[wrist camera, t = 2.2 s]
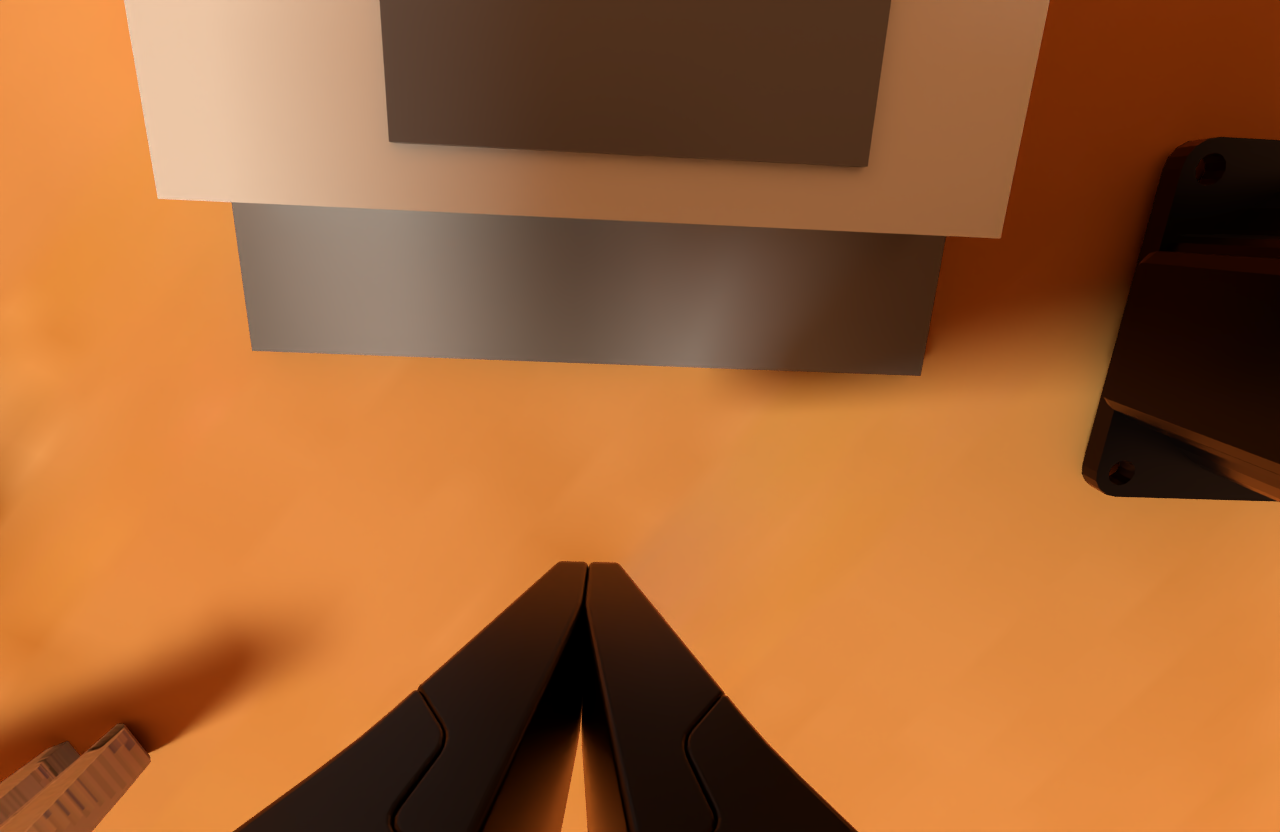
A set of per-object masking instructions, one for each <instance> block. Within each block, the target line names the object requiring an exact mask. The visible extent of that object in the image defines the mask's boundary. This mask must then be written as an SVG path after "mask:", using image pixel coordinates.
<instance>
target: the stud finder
mask: <svg viewBox="0 0 1280 832" xmlns="http://www.w3.org/2000/svg"><path fill="white" fill-rule="evenodd" d="M1049 2H1050V0H124V3H125V9H126V15H127V21H128V27H129V32H130V38H131V44H132V50H133V56H134V62H135V68H136V73H137V79H138V85H139V91H140V97H141V103H142V108H143V114H144V120H145V126H146V132H147V138H148V144H149V149H150V155H151V161H152V167H153V173H154V179H155V184H156V190H157V196H158V199H175V200H197V201H218V202H239V203H260V204H281V205H302V206H323V207H345V208H366V209H387V210H408V211H429V212H450V213H471V214H493V215H514V216H535V217H556V218H577V219H598V220H619V221H640V222H662V223H683V224H704V225H725V226H746V227H767V228H788V229H810V230H831V231H852V232H873V233H894V234H915V235H936V236H958V237H979V238H1000V239H1001V234H1002V229H1003V224H1004V220H1005V215H1006V210H1007V205H1008V200H1009V195H1010V191H1011V186H1012V181H1013V176H1014V171H1015V166H1016V162H1017V157H1018V152H1019V147H1020V142H1021V137H1022V133H1023V128H1024V123H1025V118H1026V113H1027V108H1028V104H1029V99H1030V94H1031V89H1032V84H1033V79H1034V75H1035V70H1036V65H1037V60H1038V55H1039V50H1040V46H1041V41H1042V36H1043V31H1044V26H1045V21H1046V17H1047V12H1048V7H1049Z"/></svg>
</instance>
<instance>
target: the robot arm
mask: <svg viewBox="0 0 1280 832" xmlns="http://www.w3.org/2000/svg"><path fill="white" fill-rule="evenodd" d="M1201 159H1203V161H1204V162H1205V172H1204V174H1203V176H1202V178H1201V180H1199V181H1198V180H1197V179H1196V167H1197V166H1198V164H1199V162H1200V160H1201ZM1118 462H1119V467H1118V469H1117V471H1116V472H1115V473H1113V474H1112V475H1111V476H1109V471H1110V470H1111V468H1112V466H1114V465H1115V464H1116V463H1118ZM1082 475H1083V477H1084V479H1085V481H1086V482H1087V483H1088V484H1089V485H1091V486H1092V487H1094V488H1096V489H1097V490H1099V491H1101V492H1102V493H1104V494H1106V495H1110V496H1115V497H1145V498H1179V499H1213V500H1247V501H1278V502H1280V140H1265V139H1247V138H1229V137H1217V138H1209V139H1201V140H1194V141H1188V142H1186V143H1184V144H1183V145H1181V146H1179V147H1178V148H1176V149H1175V151H1174V152H1173V153H1172V154H1171V155H1170V156H1169V157H1168V159H1167V161H1166V163H1165V166H1164V168H1163V170H1162V174H1161V178H1160V181H1159V185H1158V189H1157V192H1156V196H1155V200H1154V203H1153V207H1152V211H1151V214H1150V218H1149V222H1148V225H1147V229H1146V233H1145V236H1144V240H1143V244H1142V248H1141V251H1140V255H1139V259H1138V262H1137V266H1136V270H1135V273H1134V277H1133V281H1132V284H1131V288H1130V292H1129V295H1128V299H1127V303H1126V306H1125V310H1124V314H1123V317H1122V321H1121V325H1120V328H1119V332H1118V336H1117V340H1116V343H1115V347H1114V351H1113V354H1112V358H1111V362H1110V365H1109V369H1108V373H1107V376H1106V380H1105V384H1104V387H1103V391H1102V395H1101V398H1100V402H1099V406H1098V409H1097V413H1096V417H1095V420H1094V424H1093V428H1092V432H1091V435H1090V439H1089V443H1088V446H1087V450H1086V454H1085V457H1084V461H1083V465H1082ZM581 714H582V752H583V767H584V782H585V797H586V812H587V827H588V832H858V831H857V830H856V829H855V828H854V827H853V826H852V825H851V824H849V823H848V822H847V821H846V820H845V819H844V818H843V817H842V816H841V815H840V814H839V813H838V812H837V811H836V810H835V809H834V808H833V807H832V806H831V805H830V804H829V803H828V802H827V801H826V800H824V799H823V798H822V797H821V796H820V795H819V794H818V793H817V792H816V791H815V790H814V789H813V788H812V787H811V786H810V785H809V784H808V783H807V782H806V781H805V780H804V779H803V778H802V777H801V776H800V775H799V774H798V773H797V772H796V771H795V770H794V769H793V768H792V767H791V766H790V765H789V764H788V763H787V762H786V761H785V760H784V759H783V758H782V757H781V756H780V755H779V754H778V753H777V752H776V751H775V750H774V749H773V748H772V747H771V746H770V745H769V744H768V743H767V742H766V741H765V740H764V738H763V737H762V736H761V735H760V734H759V733H758V732H757V730H756V729H755V728H754V727H753V726H752V725H751V724H750V722H749V721H748V720H747V719H746V718H745V717H744V716H743V714H742V713H741V712H740V711H739V710H738V708H737V707H736V706H735V705H734V703H733V702H732V701H731V700H730V698H729V697H728V696H725V693H724V692H723V690H722V689H721V688H720V687H719V685H718V684H717V683H716V682H715V681H714V679H713V678H712V677H711V676H710V674H709V673H708V672H707V671H706V670H705V668H704V667H703V666H702V665H701V663H700V662H699V661H698V660H697V659H696V657H695V656H694V655H693V654H692V652H691V651H690V650H689V649H688V648H687V646H686V645H685V644H684V643H683V641H682V640H681V639H680V638H679V637H678V635H677V634H676V633H675V632H674V630H673V629H672V628H671V627H670V625H669V624H668V623H667V622H666V621H665V619H664V618H663V617H662V616H661V614H660V613H659V612H658V611H657V610H656V608H655V607H654V606H653V605H652V603H651V602H650V601H649V600H648V599H647V597H646V596H645V595H644V594H643V592H642V591H641V590H640V589H639V588H638V586H637V585H636V584H635V583H634V581H633V580H632V579H631V578H630V577H629V575H628V574H627V573H626V572H625V570H624V569H623V568H622V567H621V566H620V565H619V564H618V563H610V562H593V563H591V564H590V565H589V569H588V565H587V564H586V563H585V562H570V561H561V562H558V563H557V564H556V565H554V566H553V567H552V568H551V569H550V570H549V571H548V572H547V573H545V574H544V575H543V576H542V577H541V578H540V579H539V580H538V581H537V582H535V583H534V584H533V585H532V586H531V587H530V588H529V589H528V590H526V591H525V592H524V593H523V594H522V595H521V596H520V597H519V598H517V599H516V600H515V601H514V602H513V603H512V604H511V605H510V606H509V607H507V608H506V609H505V610H504V611H503V612H502V613H501V614H500V615H498V616H497V617H496V618H495V619H494V620H493V621H492V622H491V623H489V624H488V625H487V626H486V627H485V628H484V629H483V630H482V631H480V632H479V633H478V634H477V635H476V636H475V637H474V638H473V639H472V640H470V641H469V642H468V643H467V644H466V645H465V646H464V647H463V648H461V649H460V650H459V651H458V652H457V653H456V654H455V655H454V656H452V657H451V658H450V659H449V660H448V661H447V662H446V663H445V664H444V665H442V666H441V667H440V668H439V669H438V670H437V671H436V672H435V673H433V674H432V675H431V676H430V677H429V678H428V679H427V680H426V681H424V682H423V683H422V684H421V685H420V686H419V687H418V690H415V691H413V692H412V693H411V694H410V695H408V696H407V697H406V698H405V699H404V700H403V701H402V702H401V703H399V704H398V705H397V706H396V707H395V708H394V709H393V710H391V711H390V712H389V713H388V714H387V715H386V716H384V717H383V718H382V719H381V720H380V721H378V722H377V723H376V724H375V725H374V726H373V727H371V728H370V729H369V730H368V731H367V732H365V733H364V734H363V735H362V736H361V737H359V738H358V739H357V740H356V741H354V742H353V743H352V744H350V745H349V746H348V747H346V748H345V749H344V750H343V751H341V752H340V753H339V754H337V755H336V756H335V757H333V758H332V759H331V760H329V761H328V762H327V763H326V764H324V765H323V766H322V767H320V768H319V769H318V770H316V771H315V772H314V773H312V774H311V775H310V776H308V777H307V778H306V779H304V780H303V781H301V782H300V783H299V784H297V785H296V786H295V787H293V788H292V789H291V790H289V791H288V792H286V793H285V794H284V795H282V796H281V797H280V798H278V799H277V800H275V801H274V802H273V803H271V804H270V805H269V806H267V807H266V808H265V809H263V810H262V811H260V812H259V813H258V814H256V815H255V816H254V817H252V818H251V819H250V820H248V821H247V822H245V823H244V824H243V825H241V826H240V827H239V828H237V829H236V830H235V831H233V832H561V828H562V823H563V818H564V813H565V808H566V802H567V797H568V792H569V787H570V782H571V776H572V771H573V766H574V761H575V756H576V750H577V745H578V739H579V733H580V724H581Z"/></svg>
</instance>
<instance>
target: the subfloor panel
mask: <svg viewBox="0 0 1280 832" xmlns="http://www.w3.org/2000/svg"><path fill="white" fill-rule="evenodd" d="M232 208H233V216H234V223H235V230H236V237H237V244H238V252H239V259H240V266H241V273H242V281H243V288H244V295H245V302H246V309H247V317H248V324H249V331H250V338H251V346H252V351H274V352H301V353H327V354H354V355H381V356H407V357H434V358H460V359H487V360H514V361H540V362H567V363H594V364H620V365H647V366H674V367H700V368H727V369H753V370H780V371H807V372H833V373H860V374H887V375H913V376H921V370H922V365H923V359H924V354H925V348H926V343H927V337H928V332H929V326H930V321H931V315H932V310H933V304H934V299H935V293H936V288H937V282H938V277H939V271H940V266H941V260H942V255H943V249H944V244H945V238H946V236H936V235H915V234H894V233H873V232H852V231H831V230H810V229H788V228H767V227H746V226H725V225H704V224H683V223H662V222H640V221H619V220H598V219H577V218H556V217H535V216H514V215H493V214H471V213H450V212H429V211H408V210H387V209H366V208H345V207H323V206H302V205H281V204H260V203H239V202H232Z"/></svg>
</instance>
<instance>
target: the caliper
mask: <svg viewBox="0 0 1280 832" xmlns="http://www.w3.org/2000/svg"><path fill="white" fill-rule="evenodd" d="M150 762H151V761H150V756H149V754H148V753H147V752H146V751H145V749H144V748H143V747H142V746H141V744H140V743H139V742H138V741H137V739H136V738H135V737H134V736H133V734H132V733H131V732H130V731H129V729H128V728H127V727H126V726H125V724H117V725H115V726H114V727H113V728H112V729H111V730H110V731H109V732H107V733H106V734H105V735H104V736H103V737H102V738H101V739H99V740H98V741H97V742H96V743H95V744H94V745H93V746H91V747H90V748H89V749H88V750H87V751H86V752H85V753H84V754H82V755H81V756H80V755H79V754H78V753H77V751H76V750H75V749H74V748H73V747H72V745H71V744H70V743H69V742H68V741H67V742H64V743H61V744H59V745H56V746H53V747H50V748H48V749H46V750H45V751H43V752H42V753H41V754H39V755H38V756H37V757H35V758H34V759H32V760H31V761H30V762H28V763H27V764H26V765H24V766H23V767H21V768H20V769H19V770H17V771H16V772H15V773H13V774H12V775H10V776H9V777H8V778H6V779H5V780H3V781H2V782H1V783H0V832H92V831H93V830H94V828H95V827H96V826H97V825H98V824H99V823H100V821H101V820H102V819H103V818H104V817H105V816H106V814H107V813H108V812H109V811H110V810H111V809H112V807H113V806H114V805H115V804H116V803H117V802H118V800H119V799H120V798H121V797H122V796H123V795H124V793H125V792H126V791H127V790H128V789H129V787H130V786H131V785H132V784H133V783H134V781H135V780H136V779H137V778H138V777H139V775H140V774H141V773H142V772H143V771H144V769H145V768H146V767H147V766H148V765H149V763H150Z"/></svg>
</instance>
